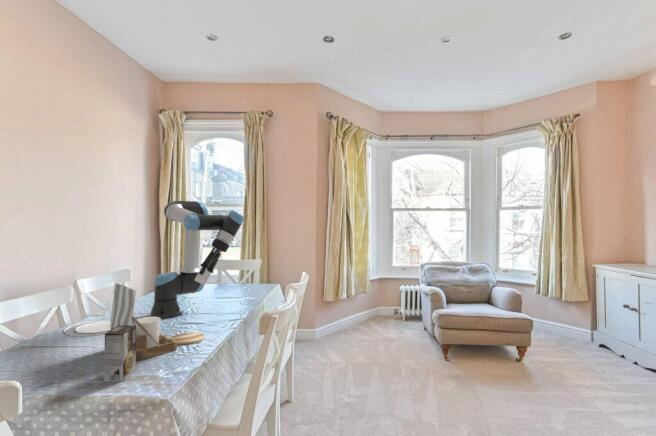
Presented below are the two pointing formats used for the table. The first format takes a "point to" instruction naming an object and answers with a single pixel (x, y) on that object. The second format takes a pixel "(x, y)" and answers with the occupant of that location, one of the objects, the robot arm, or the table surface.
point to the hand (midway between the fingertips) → (199, 283)
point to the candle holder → (149, 329)
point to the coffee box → (120, 353)
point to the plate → (92, 328)
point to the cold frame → (124, 316)
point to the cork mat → (188, 338)
